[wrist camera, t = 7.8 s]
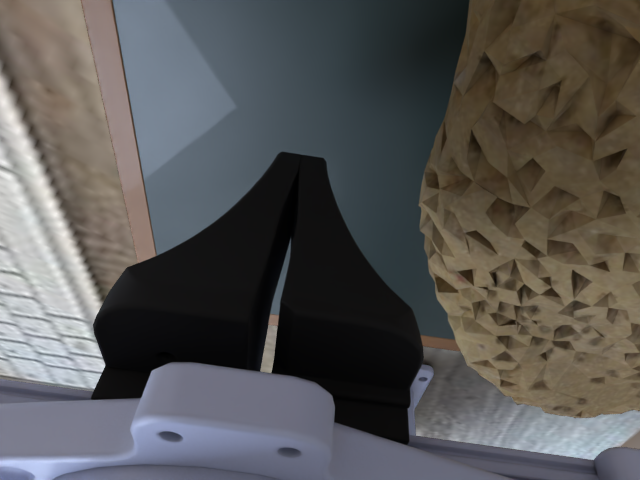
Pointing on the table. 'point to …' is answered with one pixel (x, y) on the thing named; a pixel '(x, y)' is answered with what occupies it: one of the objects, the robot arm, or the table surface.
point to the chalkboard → (281, 116)
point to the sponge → (542, 203)
